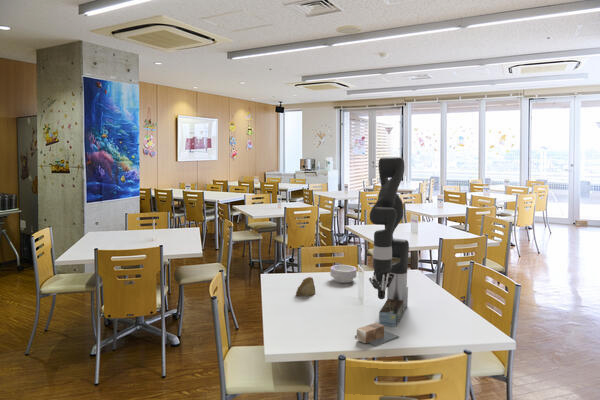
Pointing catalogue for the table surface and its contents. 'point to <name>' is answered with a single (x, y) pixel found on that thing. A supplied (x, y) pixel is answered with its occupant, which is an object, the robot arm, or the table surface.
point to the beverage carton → (391, 312)
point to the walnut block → (370, 332)
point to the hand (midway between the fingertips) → (381, 298)
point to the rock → (306, 287)
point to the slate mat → (383, 338)
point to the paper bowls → (343, 273)
